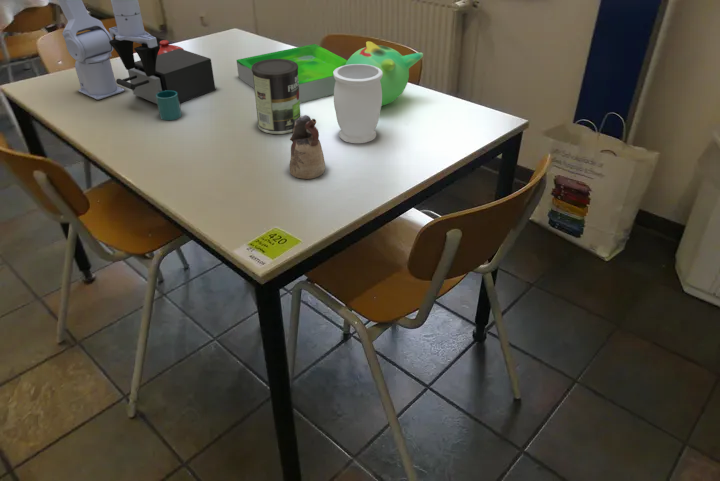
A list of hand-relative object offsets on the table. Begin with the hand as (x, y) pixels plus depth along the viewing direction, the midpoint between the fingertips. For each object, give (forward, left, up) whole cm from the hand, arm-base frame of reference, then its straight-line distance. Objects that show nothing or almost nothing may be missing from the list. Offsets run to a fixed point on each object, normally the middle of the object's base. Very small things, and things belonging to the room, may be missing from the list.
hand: (140, 71), depth 136 cm
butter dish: (-18, +19, -9) cm, 28 cm away
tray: (+17, +36, -9) cm, 41 cm away
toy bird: (+42, +38, -9) cm, 58 cm away
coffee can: (+32, +13, -9) cm, 36 cm away
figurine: (+52, +1, -9) cm, 53 cm away
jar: (+50, +20, -9) cm, 55 cm away
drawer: (-3, +6, -8) cm, 10 cm away
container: (+8, 0, -9) cm, 12 cm away
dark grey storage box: (-3, +11, -9) cm, 14 cm away
